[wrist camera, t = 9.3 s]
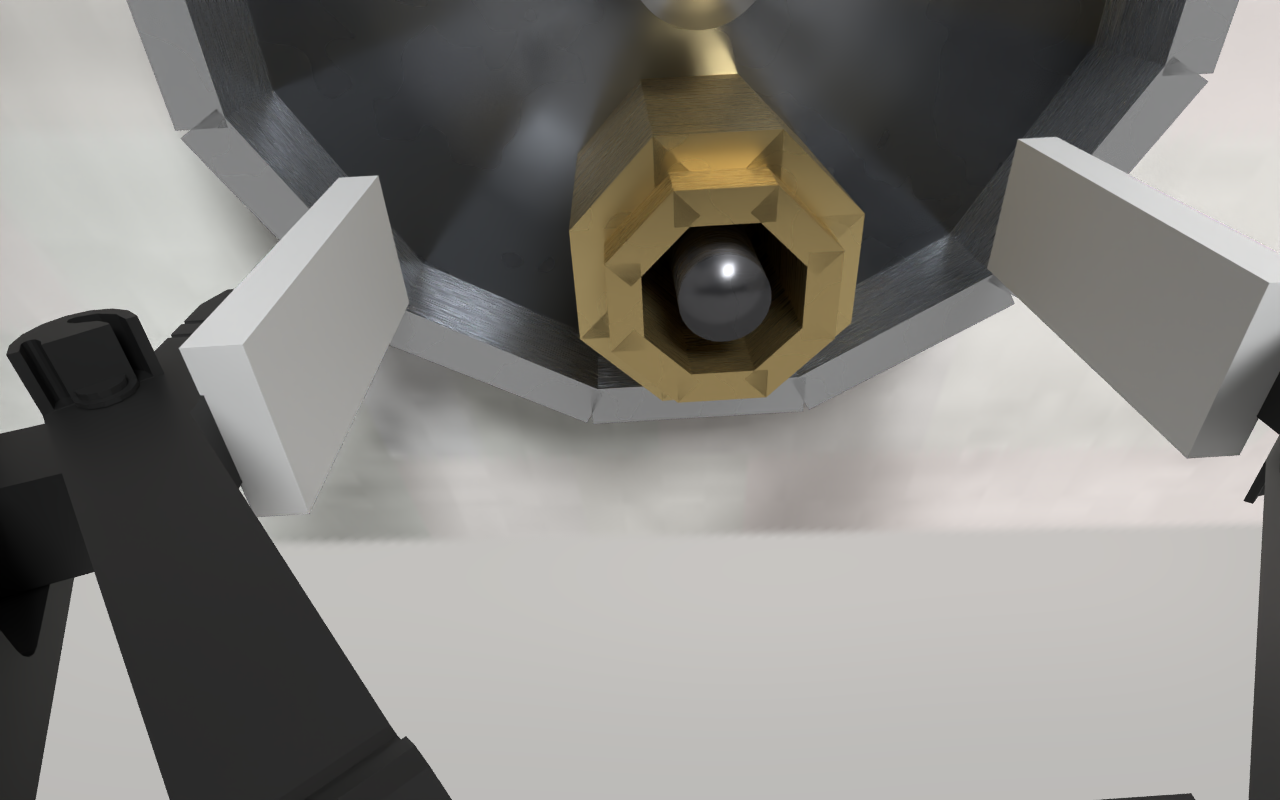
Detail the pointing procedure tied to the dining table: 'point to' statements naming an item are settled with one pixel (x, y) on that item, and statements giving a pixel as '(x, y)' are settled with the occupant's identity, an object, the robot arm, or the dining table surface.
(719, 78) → the tan octagonal cup
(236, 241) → the dining table surface
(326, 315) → the robot arm
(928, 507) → the dining table surface
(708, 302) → the pin
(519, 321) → the dark pot lid
